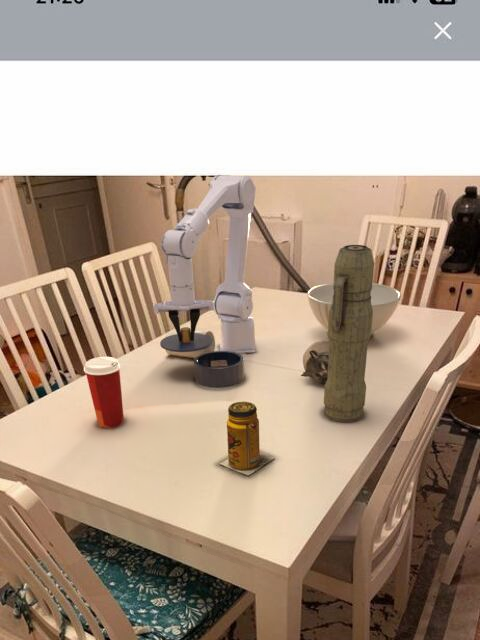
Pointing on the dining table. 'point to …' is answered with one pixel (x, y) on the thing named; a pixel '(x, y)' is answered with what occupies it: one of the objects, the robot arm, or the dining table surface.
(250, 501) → the dining table surface
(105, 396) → the paper cup
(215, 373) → the tin
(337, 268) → the thermos
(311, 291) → the decorative bowl
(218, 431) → the dining table surface
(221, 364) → the block
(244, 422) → the condiment
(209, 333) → the cup
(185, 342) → the lid
